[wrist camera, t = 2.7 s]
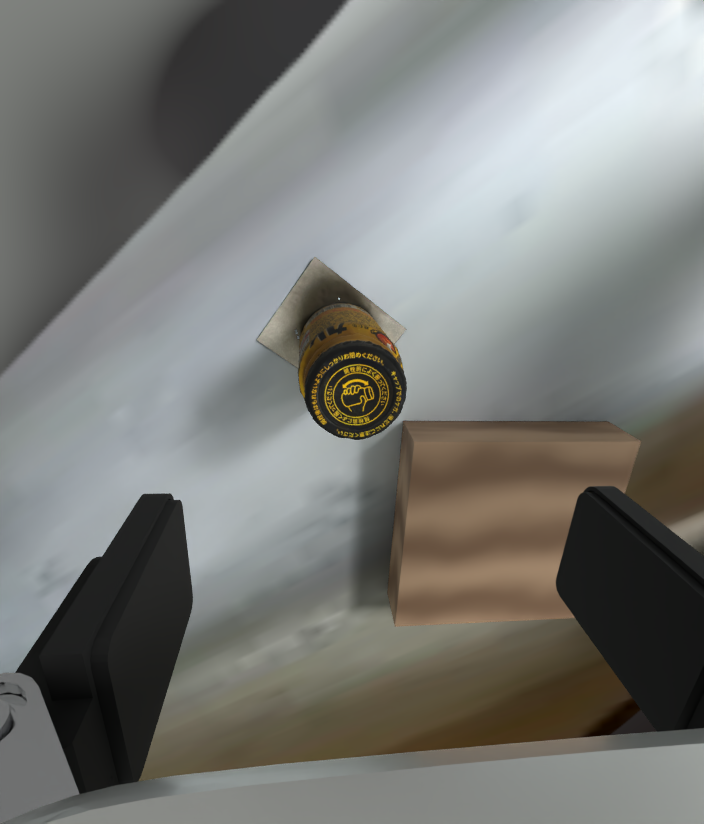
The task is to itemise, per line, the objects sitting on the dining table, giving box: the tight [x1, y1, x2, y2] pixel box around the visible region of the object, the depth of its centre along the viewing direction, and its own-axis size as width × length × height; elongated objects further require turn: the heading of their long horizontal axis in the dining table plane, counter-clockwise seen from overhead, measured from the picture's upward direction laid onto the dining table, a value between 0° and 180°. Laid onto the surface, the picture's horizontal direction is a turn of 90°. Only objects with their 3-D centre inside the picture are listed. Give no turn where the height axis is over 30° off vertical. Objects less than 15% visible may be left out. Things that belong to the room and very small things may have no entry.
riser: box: [387, 421, 641, 626], centre depth 38 cm, size 18×18×4 cm
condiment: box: [257, 257, 407, 440], centre depth 27 cm, size 7×8×12 cm
